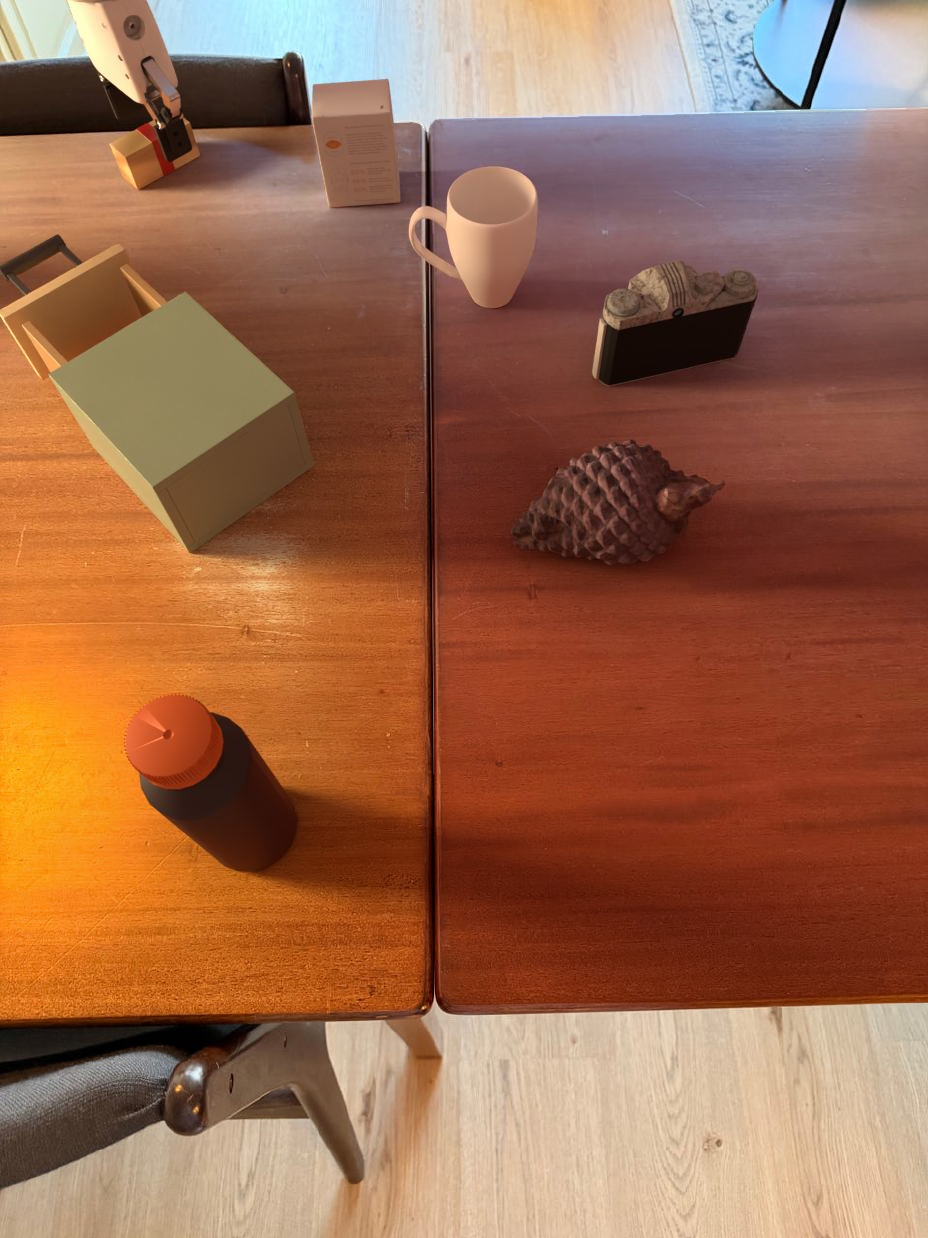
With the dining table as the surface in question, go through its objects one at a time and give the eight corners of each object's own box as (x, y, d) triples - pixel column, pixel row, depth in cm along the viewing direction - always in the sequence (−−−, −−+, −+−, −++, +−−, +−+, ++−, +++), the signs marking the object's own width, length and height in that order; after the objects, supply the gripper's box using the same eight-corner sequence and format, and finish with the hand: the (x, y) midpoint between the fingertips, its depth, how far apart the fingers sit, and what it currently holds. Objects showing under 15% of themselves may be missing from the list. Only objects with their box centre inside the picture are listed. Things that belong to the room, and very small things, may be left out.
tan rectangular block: (122, 176, 101) (108, 142, 98) (184, 142, 104) (173, 108, 100) (138, 190, 100) (125, 156, 96) (200, 156, 103) (190, 121, 99)
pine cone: (527, 611, 75) (492, 507, 70) (525, 552, 83) (494, 455, 78) (743, 559, 71) (724, 445, 66) (719, 502, 79) (700, 397, 74)
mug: (531, 263, 93) (536, 163, 83) (534, 322, 90) (539, 225, 80) (416, 265, 94) (407, 166, 84) (413, 324, 90) (403, 227, 80)
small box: (399, 170, 101) (390, 76, 91) (401, 204, 98) (392, 111, 89) (327, 174, 101) (311, 81, 91) (327, 208, 98) (310, 116, 89)
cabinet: (93, 447, 84) (47, 373, 75) (215, 369, 88) (185, 290, 79) (189, 553, 78) (152, 487, 70) (315, 465, 82) (294, 391, 74)
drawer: (-1, 333, 89) (-42, 269, 82) (108, 270, 93) (77, 204, 86) (118, 463, 82) (83, 404, 75) (231, 389, 85) (208, 326, 78)
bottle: (195, 864, 66) (87, 783, 48) (223, 776, 69) (131, 669, 51) (284, 881, 65) (208, 805, 47) (309, 791, 68) (245, 688, 50)
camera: (717, 308, 90) (742, 223, 81) (744, 358, 87) (773, 275, 78) (576, 339, 88) (586, 256, 80) (598, 391, 85) (611, 310, 77)
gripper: (176, -18, 81) (228, 155, 97) (77, -89, 88) (140, 84, 103) (106, 18, 79) (170, 188, 95) (9, -57, 86) (83, 114, 101)
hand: (154, 134), depth 99 cm, fingers open, 9 cm apart
